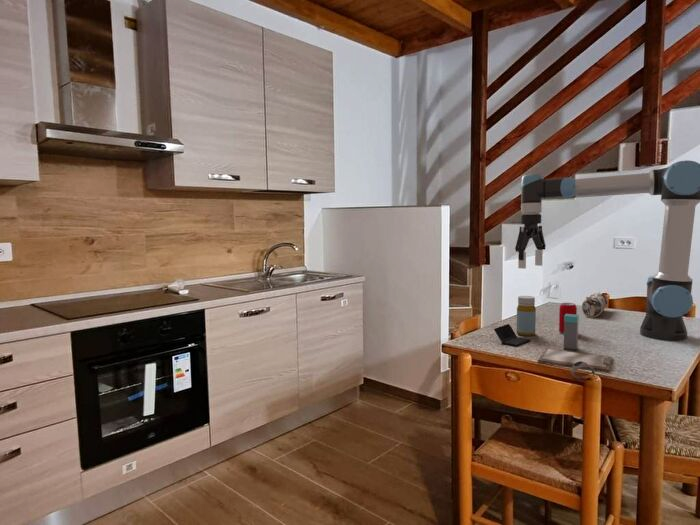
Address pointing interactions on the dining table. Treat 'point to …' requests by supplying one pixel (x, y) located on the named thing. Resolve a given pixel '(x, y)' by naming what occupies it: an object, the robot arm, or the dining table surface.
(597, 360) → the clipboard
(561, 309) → the beverage can
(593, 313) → the pencil case
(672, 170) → the robot arm
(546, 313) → the dining table surface
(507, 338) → the handheld gaming console
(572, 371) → the wristwatch
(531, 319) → the bottle
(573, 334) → the teal and grey block
